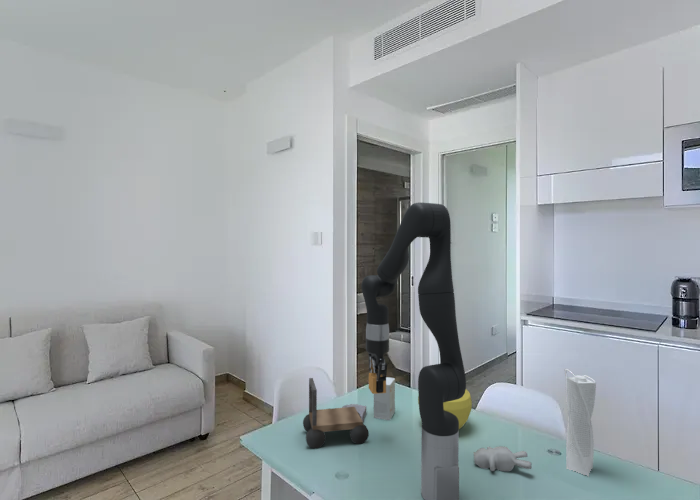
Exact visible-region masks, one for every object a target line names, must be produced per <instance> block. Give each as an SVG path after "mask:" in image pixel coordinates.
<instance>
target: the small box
mask: <svg viewBox="0 0 700 500" xmlns="http://www.w3.org/2000/svg"><path fill="white" fill-rule="evenodd" d="M395 400H396V378H394V377H387V376H386V393H378V394H373V418H374V419H378V420H379V419H380V420H385V421H391V419H392V418H393V415H394V414H395V412H396V401H395Z"/></svg>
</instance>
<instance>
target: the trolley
mask: <svg viewBox="0 0 700 500" xmlns="http://www.w3.org/2000/svg"><path fill="white" fill-rule="evenodd" d="M317 393H318V390H317V387H316V384H315V380H314V378H313V377H309V378H308V413H307V414H306V415H305V416H304V418H303V420H302V425H303V429H304V430H305V431H306V434H305V435H306V436H305V439H306V444H307V446H308V447H310V448H311V449H319V448H322V446H323V445H324V444H325V442H326V434H325V432H334V431H335V432H336V431H346V430H347V431H348V430H349V438H350V439H351V441H352V442H353V443H354V444H356V445H361V444H363V443H365V442H367V440H368V438H369V435H370V433H369V432H370V431H369V429H368V427H367V425H366V424H364V421H362V419H361V416H360V414H359V413H358V412H357V410H356V408H355V407H345V408H342V407H336V408H334V407H333V408H325V409H324V408H322V409H317V408H318V406H317V404H318V403H317V402H318V401H317V400H318V399H317V398H318V397H317V396H318V395H317Z"/></svg>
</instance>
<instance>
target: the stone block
mask: <svg viewBox="0 0 700 500" xmlns="http://www.w3.org/2000/svg"><path fill="white" fill-rule="evenodd" d="M345 407H355V408H356V410H357V412H358V413H359V414H360V416H361V419H362V421H363V422H364V421H365V418H366V415H367V405H361V404H358V403H350V404H346V405H343V406H342V407H341V408H345Z"/></svg>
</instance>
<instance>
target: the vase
mask: <svg viewBox="0 0 700 500" xmlns="http://www.w3.org/2000/svg"><path fill="white" fill-rule="evenodd" d="M472 404H473V402H472V396H471V393H470V392H469V390H468V389H467V388H466V390H465V394H464V395H463V397H461V398H460V399H457V400H453V401H448V402H444V403H443V407H444V410H445V411H448V412H450V413H452V414H454V415H455V416H456V417H457V418H458V421H459V430H460V429H461V428H463V427H464V425H465V424H466V423H467V422H468V421H469V418H470V415H471V411H472V410H473V409H472V408H473V407H472V406H473V405H472ZM417 405H419V395H418V396H417Z"/></svg>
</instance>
